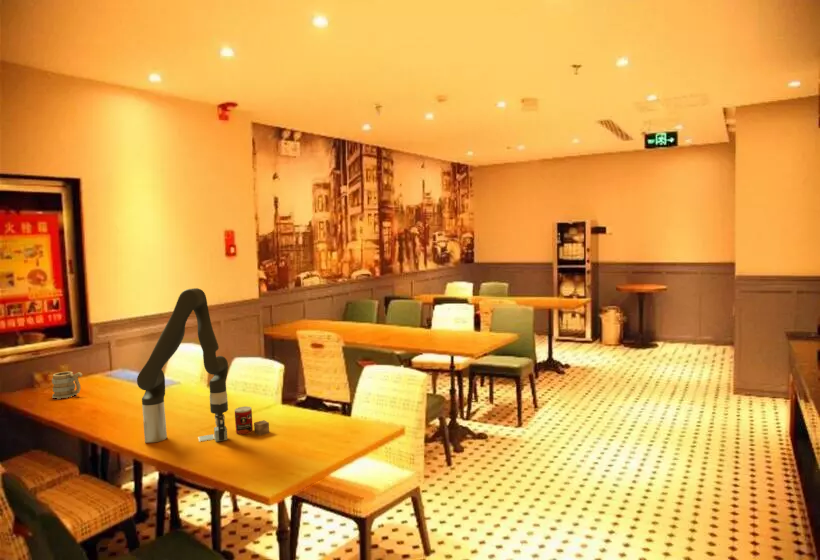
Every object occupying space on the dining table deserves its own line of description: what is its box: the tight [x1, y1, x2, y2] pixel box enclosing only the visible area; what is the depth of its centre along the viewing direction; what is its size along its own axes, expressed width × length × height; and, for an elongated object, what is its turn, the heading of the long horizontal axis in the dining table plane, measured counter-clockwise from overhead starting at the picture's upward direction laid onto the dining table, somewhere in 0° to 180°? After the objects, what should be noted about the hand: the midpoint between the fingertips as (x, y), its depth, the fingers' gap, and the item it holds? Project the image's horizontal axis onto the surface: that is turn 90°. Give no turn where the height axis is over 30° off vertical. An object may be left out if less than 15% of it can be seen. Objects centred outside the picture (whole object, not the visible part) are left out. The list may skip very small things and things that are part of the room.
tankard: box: [51, 371, 83, 400], centre depth 352 cm, size 20×13×15 cm, turn 73°
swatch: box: [197, 433, 215, 443], centre depth 268 cm, size 7×7×1 cm
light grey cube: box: [213, 425, 228, 443], centre depth 265 cm, size 5×5×5 cm
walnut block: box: [253, 420, 270, 436], centre depth 272 cm, size 5×5×5 cm
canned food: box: [234, 406, 254, 435], centre depth 274 cm, size 8×8×11 cm
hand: (221, 437), depth 265 cm, fingers closed on light grey cube, 5 cm apart
